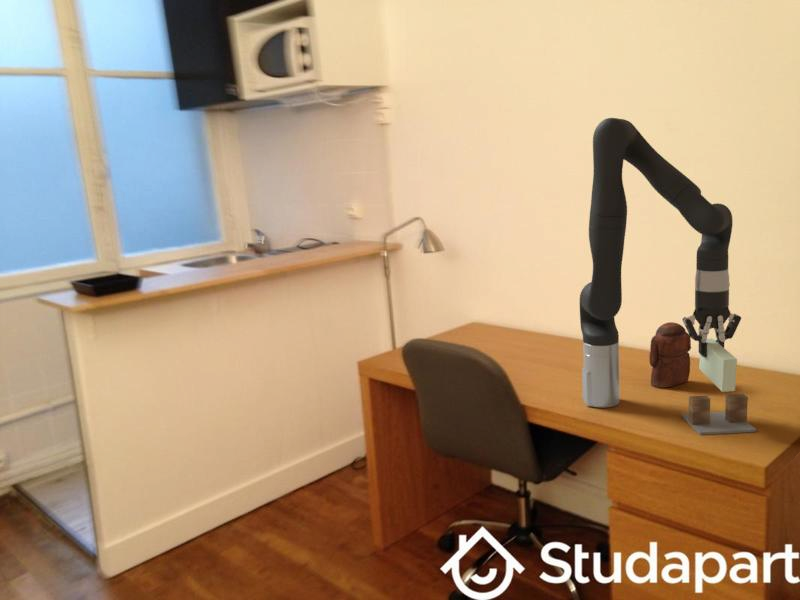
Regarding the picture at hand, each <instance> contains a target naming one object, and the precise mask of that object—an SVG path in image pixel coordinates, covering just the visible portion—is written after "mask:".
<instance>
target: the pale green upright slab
mask: <svg viewBox="0 0 800 600" xmlns="http://www.w3.org/2000/svg"><path fill="white" fill-rule="evenodd" d="M706 343H707V357H703V356H701V354H699V364H698V365H699V367H698V368H699V370H700V371H701V372H702V373H703V374H704V375H705V376H706V377H707V378H708V379H709V380H710V381H711V383H713V384H714V385H715V386H716V387H717V388H718V389H719V390H720V392H722V393H724V392H736V382H737V366H738V364H737V363H738V358H736V357H735V356H734V354H732V353H731V352H730V351H728V350H727V349H725V347H724V348H723V347H722V346H721V345H720V344H718V343H717V342H716V339H714V338H707V340H706Z"/></svg>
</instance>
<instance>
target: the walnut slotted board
mask: <svg viewBox="0 0 800 600" xmlns="http://www.w3.org/2000/svg"><path fill="white" fill-rule="evenodd" d="M748 398H749V397H748V395H746V394H745V393H731V394H729V393H728V394H725V405H724V406H725V409H724V410H725V411H724V412H725V419H726V420H727V421H728V422H729V423H735V422H748V402H749V401H748V400H749V399H748ZM710 412H711V398H710V397H709V396H708V395H695V396H693V395H691V396H688V414H689V422H690V423H691V424H692V425H697V424H710Z"/></svg>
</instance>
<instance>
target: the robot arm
mask: <svg viewBox="0 0 800 600" xmlns="http://www.w3.org/2000/svg"><path fill="white" fill-rule="evenodd" d="M592 136H593V137H592V157H593V159H592V160H593V162H592V163H593V173H592V174H593V176H592V177H593V178H592V185H591V186H592V188H591V197H590V198H591V199H590V208H589V209H590V210H589V218H588V219H589V220H588V221H589V222H588V240H589V241H588V243H589V247H590V248H589V249H590V254H591V259H592V275H591V281H590V282H588V283H587V284H586V285H584V287H583V288H582V289H581V291H580V294H579V320H580V330H581V334H582V345H583V348H582V349H583V350H582V351H583V352H582V355H583V366H582V367H581V381H582V385H581V387H582V388H581V389H582V400H583V402H584V404H585V405H586V407H594V408H612V407H616V406H618V405H619V404H620V398H621V397H620V352H619V351H620V350H619V349H620V347H619V346H620V345H619V344H620V343H619V342H620V341H619V336H620V335H619V331H618V328H617V325H616V321H615V317H616V315H618V313H619V312H620V309H621V307H622V300H623V299H622V298H623V296H622V294H623V292H622V266H623V257H624V249H625V237H626V232H627V219H628V217H627V216H628V205H627V204H628V203H627V197H626V193H625V187H624V183H623V168H624V167H623V166H624V161H626V162H627V163H629V164H630V165H631V166H633V167H634V168H635V169H636V170H638V171H639V172H640V173H641V174H642V175H643V176H644V178H645V179H646V180H647V182H648V183H649V184H650V186H651V187H652V188H653V189H654V191H656V192H657V193H658V194H659V195H660V196H661V197H662V198H663V199H664V200H666V201H667V202H668V203H669V204H670V205H672V206H673V207H674V208H675V209H676V210H678V212H679V213H680V215H681V216H682V218H683V219H684V220H686V222H687V223H688V224H689V226H690V227H692V228H693V230H695V231H696V232H697V233H698V234H701V241H700V244H699V246H698V247H697V249H696V256H695V257H696V265H695V266H696V270H695V277H694V279H695V280H694V311H693V313H692V315H690V316H688V317H687V316H685V317H683V318H682V322H683V324H684V326H685V327H684V328H685V330H686V332H687V333H688V334H689V335H690V338H691V339H692V340H694V341H695V342H698V353H699V355H700V354H701V356H703V357H707V343H706V340H707V339H708V335H709V333H710V330H712V329H713V330H714V332H715V338H716V339H715V341H716V342H717V343H718V344H720V345H721V346H722V347H723V348H725V342H726V340H728V339H732V338H733V337H734V334H735V333H736V331H737V329H738V326H739V325H740V323H741V321H742V317H741V316H740V315H739V314H737V313H732V312H731V311H730V309H729V306H730V287H731V286H730V284H731V283H730V273H729V247H730V243H731V237H732V232H733V231H732V230H733V221H734V220H733V214H732V211H731V210H730V208H729V207H728V206H727V205H725V204H722V203H718V202H717V203H713V204H712V203H711V202H709V201H708V199H706V197H704V196H703V195H702V190H701V188H700V187H699V186H698V185H697V184H696V183H694V181H692V180H691V179H690V178H688V177H687V176H686V175H685V174H684V173H683V172H681V171H680V170H679V169H678V168H676V167H675V166H674V165H673V164H671V163H670V162H669V161H668V160H667V159H665V158H664V157H663V156H662V155H661V154H660V153H659V152H658V151H657V150H656V149H655V148H654V147H652V146H653V145H651V144H650V143H649V142H648V140H647V139H646V138H645V137H644V136H643V135H642V134H641V132H640V130H638V129H637V127H636V126H635V125H634V124H633V123H632V122H631V121H629V120H627V119H624V118H618V117H609V118H605V119H603V120H601V121H600V122H599V123H598V125H597V126H596V127H595V129H594V132H593V135H592ZM727 320H728V323H727V325H726V328H725V325H724V324H726V322H727ZM695 321H696V322H697V323H698V330H697V331H698V332H697V331H696V329H695V328H696V327H694V325H695V323H696V322H695Z"/></svg>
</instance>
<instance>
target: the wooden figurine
mask: <svg viewBox="0 0 800 600" xmlns="http://www.w3.org/2000/svg"><path fill="white" fill-rule="evenodd" d="M691 339H692V338H691V337H690V335H689V333H688V331H687V329H686V327H684V326H683V325H681V324H680V323H677V322H673V321H672V322H666V323H663V324H661V325H660V326H659V327H658V328H657V330H656V332H655V334H654V335H653V336H652V338H651V340H650V345H649V346H650V348H649V349H650V350H649V351H650V352H649V365H650V366H651V367H652V368H651V375H650V385H651V386H652V387H656V388H661V389H663V388H670V387H671V388H672V387H675V386H677V385H683V384H686V383H688V381H689V379H690V373H691V356H690V353H689V352H690V351H691V349H692V344H691V343H692V342H691V341H692V340H691Z"/></svg>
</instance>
